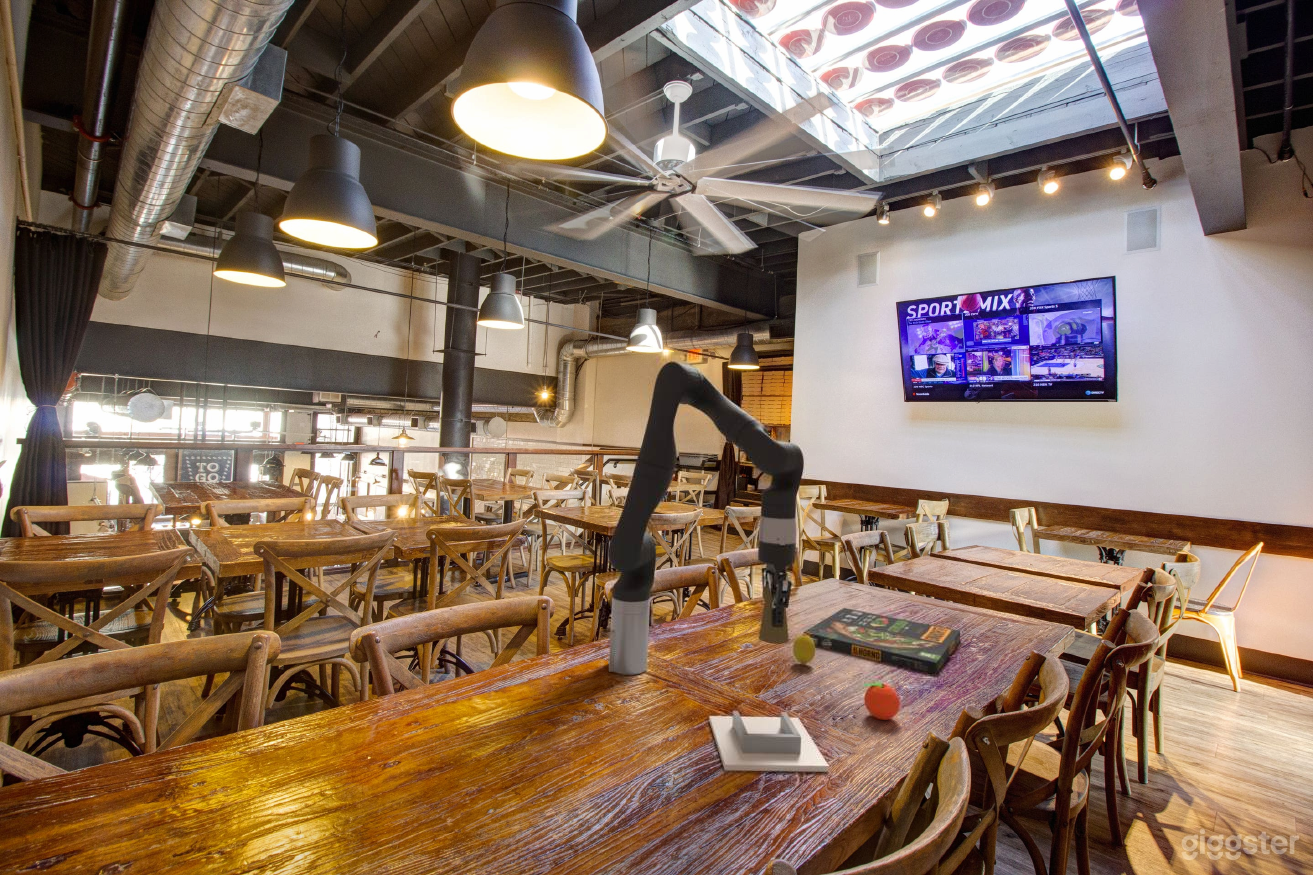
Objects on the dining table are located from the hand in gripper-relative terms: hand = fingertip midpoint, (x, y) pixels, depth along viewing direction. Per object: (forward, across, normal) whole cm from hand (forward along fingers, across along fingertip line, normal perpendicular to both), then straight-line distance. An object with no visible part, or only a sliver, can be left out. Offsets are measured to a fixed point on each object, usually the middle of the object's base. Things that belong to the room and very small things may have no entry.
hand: (774, 622), depth 122 cm
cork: (+4, 0, 0) cm, 4 cm away
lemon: (+20, -30, +17) cm, 40 cm away
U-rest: (+19, +10, -4) cm, 22 cm away
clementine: (+20, -1, +23) cm, 31 cm away
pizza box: (+20, -50, +47) cm, 72 cm away
